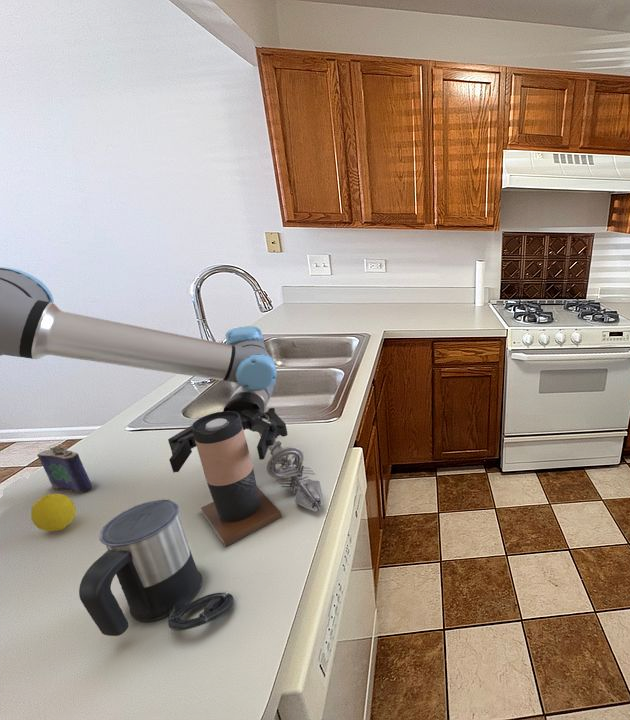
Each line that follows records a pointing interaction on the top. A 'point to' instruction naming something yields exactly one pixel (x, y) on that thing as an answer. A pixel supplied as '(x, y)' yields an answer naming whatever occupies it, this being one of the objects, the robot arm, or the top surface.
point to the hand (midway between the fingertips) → (218, 459)
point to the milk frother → (147, 572)
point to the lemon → (53, 512)
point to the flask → (65, 470)
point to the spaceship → (295, 475)
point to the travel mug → (227, 465)
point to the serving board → (241, 521)
